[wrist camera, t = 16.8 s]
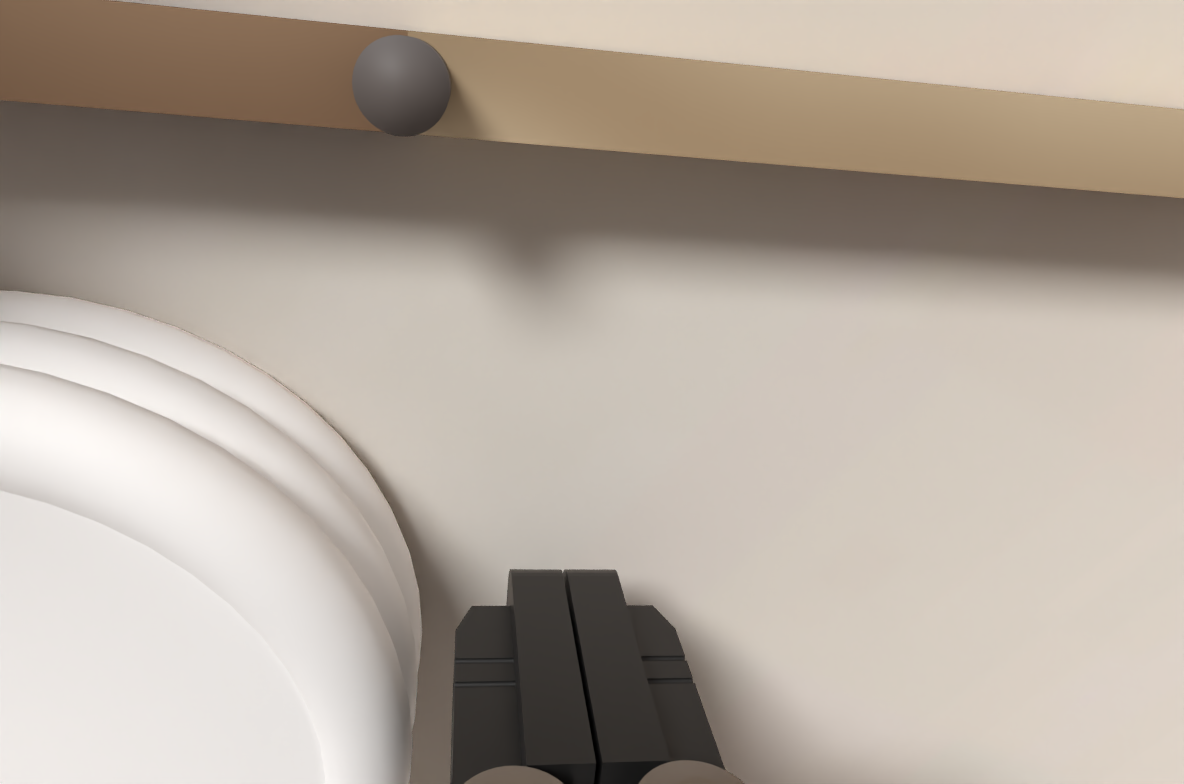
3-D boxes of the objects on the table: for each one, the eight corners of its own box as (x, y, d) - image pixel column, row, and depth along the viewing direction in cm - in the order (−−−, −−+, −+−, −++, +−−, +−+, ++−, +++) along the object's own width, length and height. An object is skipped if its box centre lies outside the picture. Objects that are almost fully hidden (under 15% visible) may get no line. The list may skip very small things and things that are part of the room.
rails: (-872, -98, 8) (-1347, -150, 6) (1293, 121, 12) (1473, 138, 10) (-367, 974, 14) (-521, 1146, 11) (1002, 890, 17) (1076, 1008, 15)
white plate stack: (-257, 134, 10) (-623, 177, 6) (532, 453, 12) (554, 594, 9) (-381, 769, 12) (-678, 1023, 9) (287, 914, 15) (239, 1147, 12)
